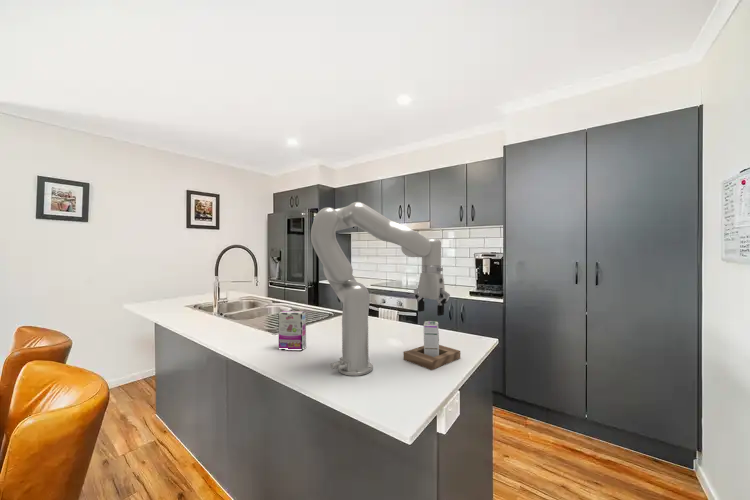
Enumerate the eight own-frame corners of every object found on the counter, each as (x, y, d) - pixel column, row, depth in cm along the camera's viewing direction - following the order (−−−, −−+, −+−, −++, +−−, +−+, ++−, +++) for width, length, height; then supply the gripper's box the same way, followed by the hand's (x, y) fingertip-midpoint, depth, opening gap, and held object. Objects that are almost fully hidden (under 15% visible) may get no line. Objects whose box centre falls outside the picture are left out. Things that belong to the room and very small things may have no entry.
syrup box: (439, 362, 115) (438, 324, 115) (423, 361, 116) (423, 323, 116) (439, 357, 120) (438, 321, 120) (424, 356, 122) (424, 320, 122)
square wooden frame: (431, 370, 107) (431, 361, 107) (403, 359, 118) (403, 352, 118) (460, 358, 119) (460, 350, 119) (432, 349, 129) (432, 342, 129)
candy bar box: (306, 347, 133) (306, 311, 133) (302, 351, 128) (301, 313, 128) (283, 346, 135) (283, 310, 135) (277, 350, 130) (277, 312, 130)
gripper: (455, 271, 114) (454, 315, 114) (420, 268, 127) (420, 308, 127) (443, 271, 109) (442, 318, 109) (408, 269, 122) (408, 310, 122)
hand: (430, 313), depth 118 cm, fingers open, 9 cm apart
